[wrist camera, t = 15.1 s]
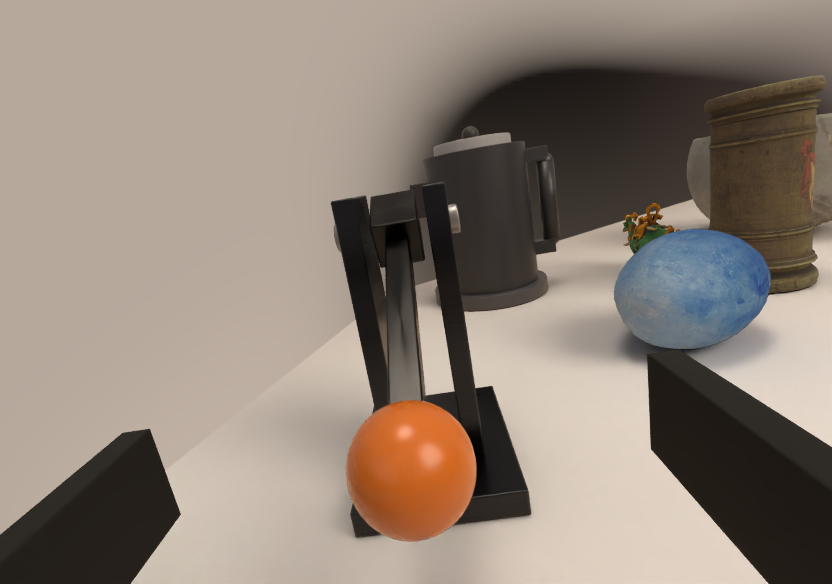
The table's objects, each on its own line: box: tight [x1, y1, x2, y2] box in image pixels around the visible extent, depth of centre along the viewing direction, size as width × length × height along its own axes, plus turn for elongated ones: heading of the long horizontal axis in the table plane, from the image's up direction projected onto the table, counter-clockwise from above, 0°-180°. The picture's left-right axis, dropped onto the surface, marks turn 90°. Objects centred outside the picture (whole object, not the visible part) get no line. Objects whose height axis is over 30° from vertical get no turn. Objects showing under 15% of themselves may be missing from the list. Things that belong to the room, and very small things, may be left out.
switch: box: [346, 190, 476, 542], centre depth 16 cm, size 15×4×4 cm, turn 179°
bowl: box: [687, 113, 832, 226], centre depth 59 cm, size 20×20×15 cm
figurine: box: [623, 203, 680, 254], centre depth 51 cm, size 3×12×8 cm, turn 5°
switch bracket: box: [331, 182, 531, 537], centre depth 22 cm, size 10×8×15 cm
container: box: [704, 76, 826, 293], centre depth 40 cm, size 9×9×18 cm
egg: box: [614, 229, 771, 349], centre depth 32 cm, size 9×9×15 cm
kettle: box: [410, 126, 560, 311], centre depth 52 cm, size 17×14×20 cm
